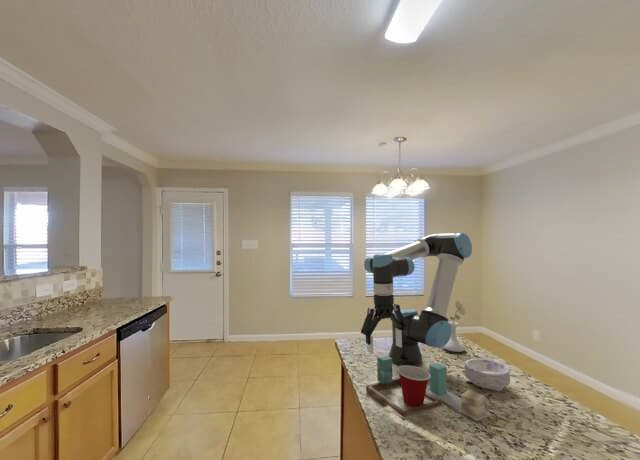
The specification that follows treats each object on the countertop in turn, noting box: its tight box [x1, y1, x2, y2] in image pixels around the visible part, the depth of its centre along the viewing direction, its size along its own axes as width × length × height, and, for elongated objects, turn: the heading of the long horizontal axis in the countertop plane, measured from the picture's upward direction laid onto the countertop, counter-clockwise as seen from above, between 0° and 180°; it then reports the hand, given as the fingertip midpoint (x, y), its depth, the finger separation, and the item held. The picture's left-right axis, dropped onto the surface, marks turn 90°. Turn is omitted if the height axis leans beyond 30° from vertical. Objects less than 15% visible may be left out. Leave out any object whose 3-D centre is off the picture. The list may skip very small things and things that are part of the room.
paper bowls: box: [464, 358, 511, 392], centre depth 115 cm, size 15×15×8 cm
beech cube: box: [460, 389, 486, 417], centre depth 95 cm, size 5×5×5 cm
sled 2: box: [426, 362, 492, 422], centre depth 100 cm, size 20×7×10 cm, turn 26°
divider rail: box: [431, 394, 479, 425], centre depth 98 cm, size 22×1×2 cm, turn 26°
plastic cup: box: [397, 365, 431, 408], centre depth 100 cm, size 11×11×12 cm
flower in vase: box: [442, 300, 466, 353], centre depth 154 cm, size 13×11×25 cm
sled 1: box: [365, 354, 443, 421], centre depth 106 cm, size 22×16×11 cm
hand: (385, 349), depth 115 cm, fingers open, 13 cm apart
